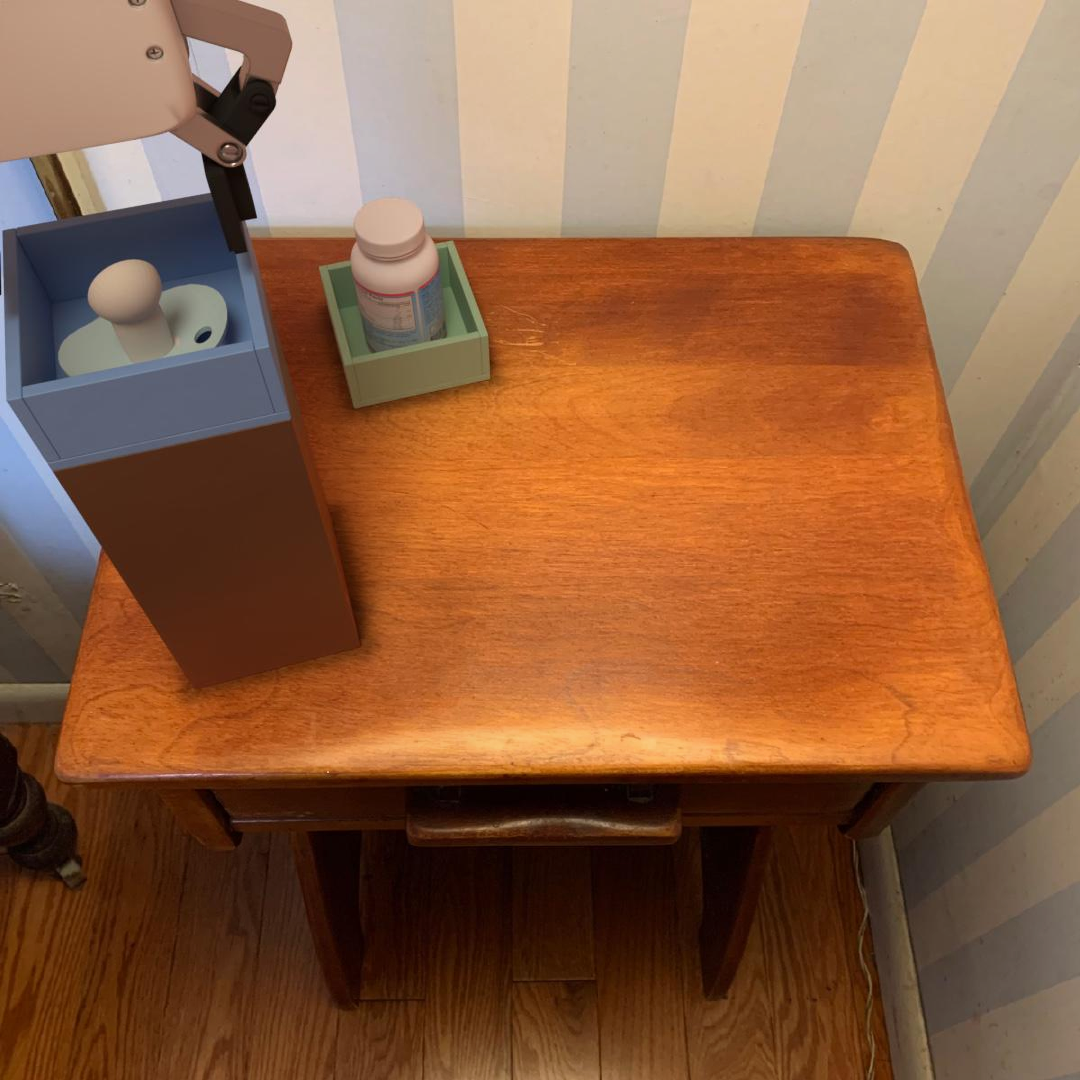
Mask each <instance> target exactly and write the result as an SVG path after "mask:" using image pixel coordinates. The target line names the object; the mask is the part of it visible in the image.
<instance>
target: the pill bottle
mask: <svg viewBox="0 0 1080 1080" xmlns="http://www.w3.org/2000/svg"><path fill="white" fill-rule="evenodd" d="M353 229H354V238H355V242H354V244H353V247H352V249H351V252H350V259H349V260H350V261H351V270H352V275H353V280H354V284H355V289H356V294H357V299H358V304H359V309H360V314H361V319H362V324H363V329H364V334H365V339H366V342H367V345H368V347H369V349H370V350H371V351H372V353H377V352H382V351H387V350H391V349H396V348H401V347H406V346H410V345H415V344H420V343H425V342H429V341H434V340H439V339H444V338H446V335H447V331H446V320H445V311H444V302H443V293H442V284H441V275H440V266H439V258H438V251H437V248H436V246H435V244H436V243H435V242H434V240H433V238H432V237H431V236H430V235H429V234H428V233H427V232H426V226H425V219H424V214H423V212H422V210H421V208H419V206H418V205H416V203H414V202H412V201H410V200H408V199H404V198H401V197H394V196H393V197H381V198H378V199H377V198H376V199H375V200H371V201H369V202H368V203H366V204H364V205H363V206H362V207H361V208H360V209H359V210H358V211H357V212H356V214H355V216H354V220H353Z"/></svg>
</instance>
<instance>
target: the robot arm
mask: <svg viewBox="0 0 1080 1080" xmlns="http://www.w3.org/2000/svg"><path fill="white" fill-rule="evenodd" d="M188 38H190V39H193V40H197V41H201V42H203V43H207V44H210V45H213V46H217V47H221V48H224V49H228V50H231V51H234V52H238V53H240V54H242V59H243V60H242V63H241V65H240V66H239V67H238V68H237V70H236V71H235V73H234V74H233V76H232V77H231V78H230V80H229V81H228V82H227V84H226V86H225V87H224V88H223V90H222V91H219V90H218V89H216V88H214V87H213V86H212V85H210V83H208V82H206V81H205V80H203V79H202V78H200V77H199V76H197V75H196V74H195V73H193V71H192V67H191V64H190V47H189V46H190V45H189V40H188ZM292 49H293V39H292V37H291V33H290V29H289V25H288V22H287V19H286V18H285V17H284V16H283V14H281V13H279V12H277V11H274V10H271V9H268V8H265V7H261V6H258V5H255V4H253V3H249V2H246V1H243V0H0V164H1V163H7V162H13V161H19V160H26V159H31V158H39V157H43V156H49V155H56V154H61V153H66V152H72V151H78V150H83V149H84V150H86V149H90V148H96V147H103V146H107V145H113V144H119V143H125V142H130V141H136V140H141V139H147V138H151V137H155V136H160V135H163V134H166V133H170V134H171V135H173V136H175V137H176V138H178V139H180V140H181V141H182V142H184V143H186V144H187V145H188V146H190V147H192V148H193V149H194V150H197V151H198V152H200V154H201V160H202V165H203V170H204V176H205V178H206V183H207V186H208V190H209V193H211V196H212V199H213V202H214V205H215V208H216V211H217V215H218V218H219V221H220V224H221V227H222V230H223V234H224V237H225V240H226V243H227V246H228V249H229V252H232V251H234V252H235V254H240V253H245V252H248V250H247V245H246V241H245V236H244V231H243V226H242V222H241V221H249V220H255V219H258V215H257V210H256V207H255V201H254V199H253V194H252V189H251V187H250V182H249V179H248V176H247V172H246V169H245V164H244V162H245V161H246V159H247V157H248V153H247V147H248V145H249V144H250V143H251V141H252V140H253V139H254V138H255V136H256V134H258V132H259V131H260V129H261V128H262V126H263V125H264V124H265V123H266V121H267V120H268V119H269V117H270V116H271V114H272V113H273V112H274V110H275V108H276V107H277V97H276V96H277V94H278V90H279V87H280V85H281V84H282V81H283V78H284V74H285V72H286V68H287V65H288V62H289V59H290V55H291V53H292ZM0 296H2V255H1V251H0Z"/></svg>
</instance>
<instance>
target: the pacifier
mask: <svg viewBox="0 0 1080 1080" xmlns="http://www.w3.org/2000/svg"><path fill="white" fill-rule="evenodd" d="M88 302H89V305H90V306H91V308H92V309H93V310H94V311H95V312H96V313H97V314H98V315H99V316H100V317H98V318H97V319H95V320H94V321H93V322H91V323H89V324H88V325H86V326H84V327H82V328H80V329H78V330H77V331H76V332H74V333H72V334H70V335H69V336H68V337H67V338H66V339H65V340H64V341H63V343H62V345H61V346H60V350H59V352H58V360H59V364H60V365H61V367H62V369H63V370H64V372H65V374H66V375H67V376H68V377H72V376H77V375H82V374H87V373H92V372H97V371H102V370H107V369H112V368H117V367H121V366H126V365H131V364H136V363H141V362H146V361H151V360H156V359H161V358H165V357H170V356H175V355H180V354H185V353H190V352H195V351H200V350H205V349H209V348H214V347H219V346H220V345H221V344H222V342H223V340H224V338H225V335H226V332H227V328H228V311H227V307H226V303H225V301H224V299H223V297H222V296H221V295H220V293H219V292H218V291H216V290H215V289H213V288H211V287H208V286H206V285H199V284H188V285H184V286H178V287H175V288H172V289H169V290H166V291H163V292H162V284H161V279H160V276H159V274H158V272H157V270H156V269H155V267H154V266H153V265H151V264H150V263H148V262H146V261H142V260H135V259H132V260H124V261H120V262H118V263H115V264H113V265H111V266H109V267H107V268H106V269H104V270H103V271H102V272H100V273H99V274H98V275H97V276H96V278H95V279H94V280H93V282H92V283H91V285H90V288H89V291H88ZM206 331H211V332H212V334H211V336H210V338H209V339H208V340H207V341H205V342H203V343H200V344H199V343H196V341H197V339H198V337H199V336H200V335H201V334H202V333H204V332H206Z"/></svg>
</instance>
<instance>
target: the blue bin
mask: <svg viewBox="0 0 1080 1080" xmlns="http://www.w3.org/2000/svg"><path fill="white" fill-rule="evenodd" d="M246 221H247V220H245V221H241V222H242V226H243V231H244V236H245V241H246V245H247V250H248V252H245V253H240V254H235V252H234V251H232V252H229V249H228V246H227V243H226V240H225V237H224V234H223V230H222V227H221V224H220V221H219V218H218V215H217V211H216V208H215V205H214V202H213V199H212V196H211V192H207V193H201V194H196V195H195V194H194V195H190V196H185V197H179V198H174V199H173V198H172V199H167V200H162V201H156V202H151V203H150V202H149V203H145V204H140V205H134V206H128V207H123V208H118V209H113V210H112V209H111V210H107V211H101V212H95V213H90V214H85V215H79V216H73V217H67V218H61V219H56V220H51V221H46V222H40V223H34V224H29V225H24V226H18V227H13V228H12V227H11V228H7V229H3V230H2V231H1V232H2V233H1V234H2V235H1V237H2V271H3V272H2V273H3V277H2V278H3V313H4V314H3V318H4V320H3V323H4V358H5V359H4V361H5V395H6V396H5V401H6V402H7V404H8V406H9V408H11V411H13V413H14V414H15V416H16V418H17V419H18V421H19V422H20V424H21V425H22V427H23V429H24V430H25V431H26V434H27V435H28V436H29V437H30V440H31V441H32V443H33V444H34V445H35V447H36V449H37V451H39V453H40V455H41V456H42V458H43V459H44V461H45V462H46V464H47V465H48V467H49V468H50V470H51V471H52V473H53V475H54V476H55V478H56V479H57V481H58V482H59V484H60V485H61V487H62V489H63V490H64V492H65V493H66V495H67V496H68V498H69V500H70V501H71V502H72V504H73V506H74V507H75V508H76V510H77V512H78V514H79V515H80V516H81V517H82V519H83V521H84V522H85V524H86V525H87V527H88V528H89V530H90V531H91V533H92V535H93V536H94V538H95V540H96V541H97V543H98V544H99V545H100V547H101V549H102V550H103V551H104V553H105V554H106V556H107V557H108V559H109V561H110V562H111V564H112V565H113V567H114V568H115V569H116V571H117V573H118V574H119V575H120V577H121V579H122V581H123V582H124V584H125V585H126V587H127V588H128V590H129V591H130V593H131V594H132V596H133V597H134V599H135V601H136V602H137V604H138V606H139V607H140V609H141V610H142V612H143V613H144V614H145V616H146V617H147V620H149V622H150V624H151V625H152V627H153V628H154V630H155V631H156V633H157V634H158V636H159V638H160V639H161V640H162V642H163V643H164V645H165V646H166V648H167V650H168V652H169V653H170V654H171V656H172V657H173V659H174V661H175V662H176V664H177V665H178V667H179V668H180V670H181V671H182V673H183V674H184V676H185V677H186V679H187V681H188V682H189V683H190V685H191V687H192V688H193V689H194V690H199V689H203V688H206V687H210V686H215V685H218V684H221V683H226V682H230V681H233V680H238V679H243V678H245V677H248V676H252V675H253V676H254V675H257V674H260V673H264V672H269V671H272V670H276V669H280V668H283V667H288V666H292V665H295V664H299V663H300V664H301V663H303V662H308V661H311V660H316V659H319V658H322V657H327V656H331V655H334V654H339V653H343V652H346V651H350V650H354V649H358V648H361V642H360V638H359V632H358V630H357V629H358V627H357V625H356V620H355V615H354V611H353V608H352V603H351V598H350V594H349V590H348V585H347V580H346V575H345V571H344V568H343V564H342V559H341V554H340V550H339V546H338V541H337V537H336V532H335V528H334V524H333V520H332V515H331V512H330V509H329V506H328V502H327V498H326V494H325V491H324V488H323V484H322V481H321V477H320V474H319V471H318V467H317V464H316V460H315V457H314V456H315V455H314V453H313V450H312V446H311V442H310V439H309V436H308V433H307V429H306V426H305V422H304V418H303V416H302V412H301V409H300V404H299V402H298V398H297V395H296V391H295V388H294V384H293V380H292V378H291V374H290V370H289V367H288V363H287V360H286V357H285V353H284V350H283V345H282V343H281V339H280V336H279V333H278V329H277V325H276V322H275V319H274V315H273V311H272V308H271V304H270V301H269V298H268V295H267V291H266V288H265V284H264V281H263V277H262V274H261V270H260V266H259V262H258V260H257V257H256V253H255V250H254V246H253V243H252V239H251V235H250V232H249V228H248V225H247V222H246ZM132 259H135V260H142V261H146V262H148V263H150V264H151V265H153V266H154V267H155V269H156V270H157V272H158V274H159V276H160V279H161V284H162V292H163V291H166V290H169V289H172V288H175V287H178V286H184V285H188V284H199V285H206V286H208V287H211V288H213V289H215V290H216V291H218V292H219V293H220V295H221V296H222V297H223V299H224V301H225V303H226V307H227V311H228V328H227V332H226V335H225V338H224V340H223V342H222V344H221V345H220V346H219V347H214V348H209V349H205V350H200V351H195V352H190V353H185V354H180V355H175V356H170V357H165V358H161V359H156V360H151V361H146V362H141V363H136V364H131V365H126V366H121V367H117V368H112V369H107V370H102V371H97V372H92V373H87V374H82V375H77V376H72V377H68V376H67V375H66V374H65V372H64V370H63V369H62V367H61V365H60V364H59V360H58V352H59V350H60V346H61V345H62V343H63V341H64V340H65V339H66V338H67V337H68V336H69V335H70V334H72V333H74V332H76V331H77V330H78V329H80V328H82V327H84V326H86V325H88V324H89V323H91V322H93V321H94V320H95V319H97V318H98V317H100V316H99V315H98V314H97V313H96V312H95V311H94V310H93V309H92V308H91V306H90V305H89V302H88V291H89V288H90V285H91V283H92V282H93V280H94V279H95V278H96V276H97V275H98V274H99V273H100V272H102V271H103V270H104V269H106V268H107V267H109V266H111V265H113V264H115V263H118V262H120V261H124V260H132ZM211 334H212V332H211V331H206V332H204V333H202V334H201V335H200V336H199V337H198V339H197V341H196V343H199V344H200V343H203V342H205V341H207V340H208V339H209V338H210V336H211Z"/></svg>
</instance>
